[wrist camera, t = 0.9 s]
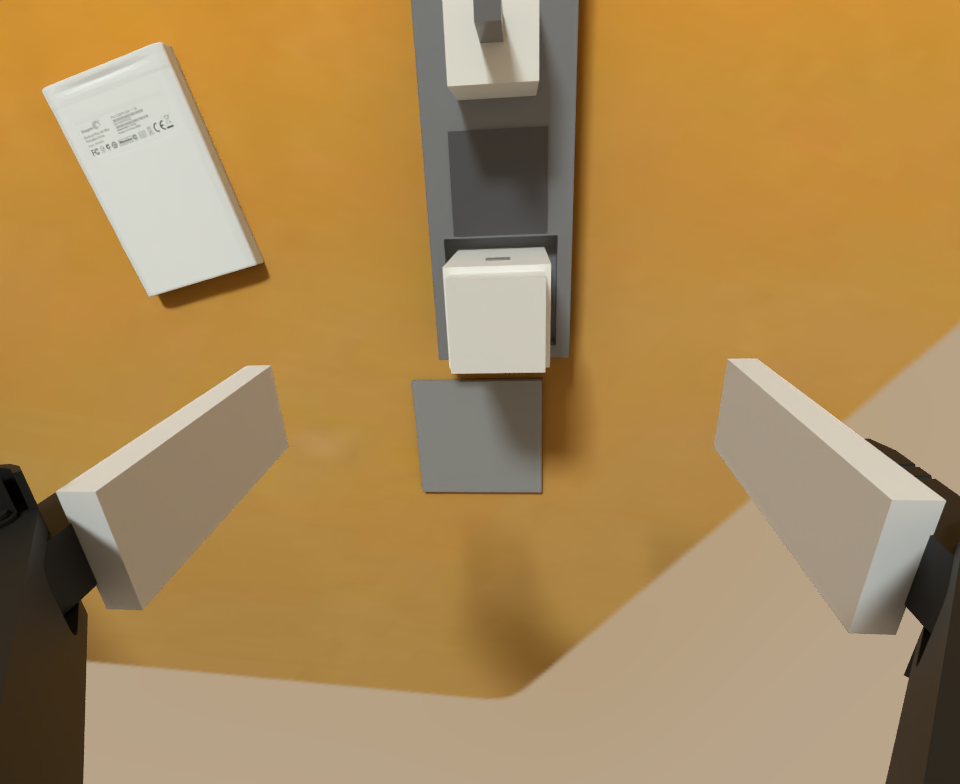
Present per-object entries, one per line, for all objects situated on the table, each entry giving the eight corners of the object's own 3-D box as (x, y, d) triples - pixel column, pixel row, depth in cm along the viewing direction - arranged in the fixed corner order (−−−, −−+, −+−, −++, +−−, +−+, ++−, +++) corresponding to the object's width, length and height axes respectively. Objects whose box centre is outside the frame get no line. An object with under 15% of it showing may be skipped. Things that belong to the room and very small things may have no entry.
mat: (423, 488, 38) (422, 491, 38) (412, 380, 35) (411, 382, 35) (541, 489, 38) (541, 492, 37) (541, 378, 34) (542, 380, 34)
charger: (463, 330, 31) (445, 379, 24) (458, 247, 29) (437, 271, 22) (543, 329, 31) (551, 378, 23) (544, 244, 29) (553, 267, 21)
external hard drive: (162, 293, 34) (59, 93, 30) (268, 261, 33) (176, 47, 29) (146, 298, 33) (35, 89, 28) (256, 265, 31) (157, 39, 27)
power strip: (564, 343, 33) (582, 404, 24) (445, 345, 34) (418, 406, 25) (580, -321, 22) (626, -695, 12) (399, -297, 22) (315, -636, 13)
